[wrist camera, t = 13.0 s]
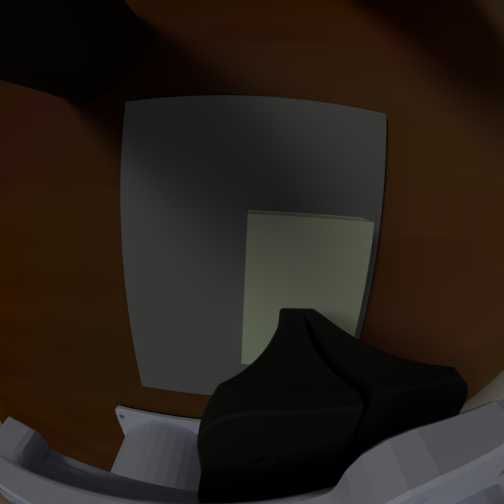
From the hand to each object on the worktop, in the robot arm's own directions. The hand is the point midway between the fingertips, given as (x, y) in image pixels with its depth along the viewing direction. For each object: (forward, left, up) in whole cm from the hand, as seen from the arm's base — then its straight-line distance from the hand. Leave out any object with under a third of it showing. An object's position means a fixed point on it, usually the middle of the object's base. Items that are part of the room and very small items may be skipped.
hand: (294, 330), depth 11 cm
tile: (0, +2, -3) cm, 4 cm away
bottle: (+14, +12, -5) cm, 19 cm away
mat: (+1, +2, -5) cm, 5 cm away
